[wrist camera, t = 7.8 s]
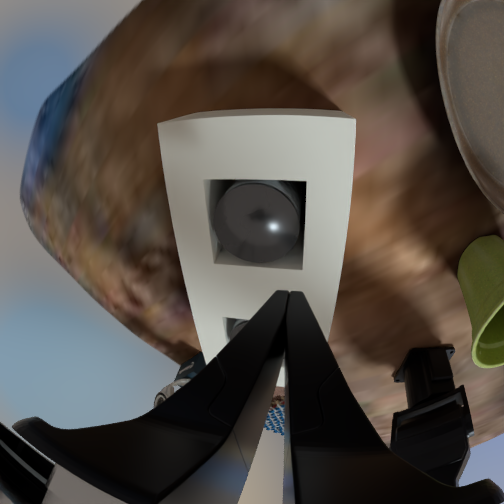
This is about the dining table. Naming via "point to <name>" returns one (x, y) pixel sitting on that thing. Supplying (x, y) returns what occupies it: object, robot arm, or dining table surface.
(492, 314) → the plant pot
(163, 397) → the watch
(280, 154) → the sleeve block
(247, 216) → the peg
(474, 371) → the dining table surface
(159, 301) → the dining table surface
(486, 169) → the plant saucer
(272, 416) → the woven mat
